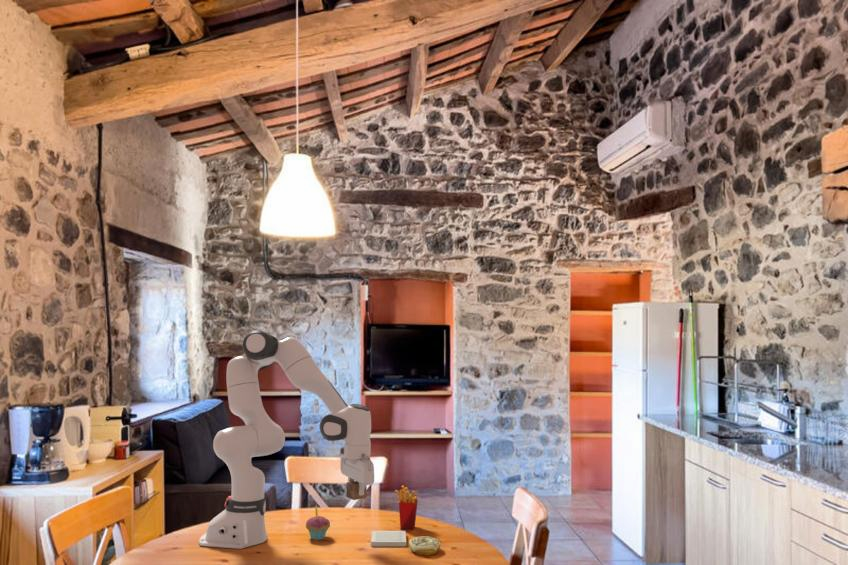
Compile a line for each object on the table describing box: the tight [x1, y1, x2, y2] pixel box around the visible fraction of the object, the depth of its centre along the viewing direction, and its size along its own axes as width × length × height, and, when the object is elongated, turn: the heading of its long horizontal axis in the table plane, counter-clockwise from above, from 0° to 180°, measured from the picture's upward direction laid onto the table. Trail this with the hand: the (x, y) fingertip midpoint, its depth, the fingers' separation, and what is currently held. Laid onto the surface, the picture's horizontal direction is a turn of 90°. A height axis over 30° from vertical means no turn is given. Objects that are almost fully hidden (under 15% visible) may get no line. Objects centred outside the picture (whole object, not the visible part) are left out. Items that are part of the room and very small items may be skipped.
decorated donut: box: [408, 535, 441, 557], centre depth 219 cm, size 10×11×4 cm
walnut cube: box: [345, 480, 368, 501], centre depth 226 cm, size 5×5×5 cm
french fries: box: [394, 485, 419, 531], centre depth 243 cm, size 9×8×15 cm
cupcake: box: [305, 504, 331, 541], centre depth 230 cm, size 9×8×12 cm
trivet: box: [370, 530, 407, 547], centre depth 228 cm, size 12×12×2 cm
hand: (356, 492), depth 226 cm, fingers closed on walnut cube, 5 cm apart
